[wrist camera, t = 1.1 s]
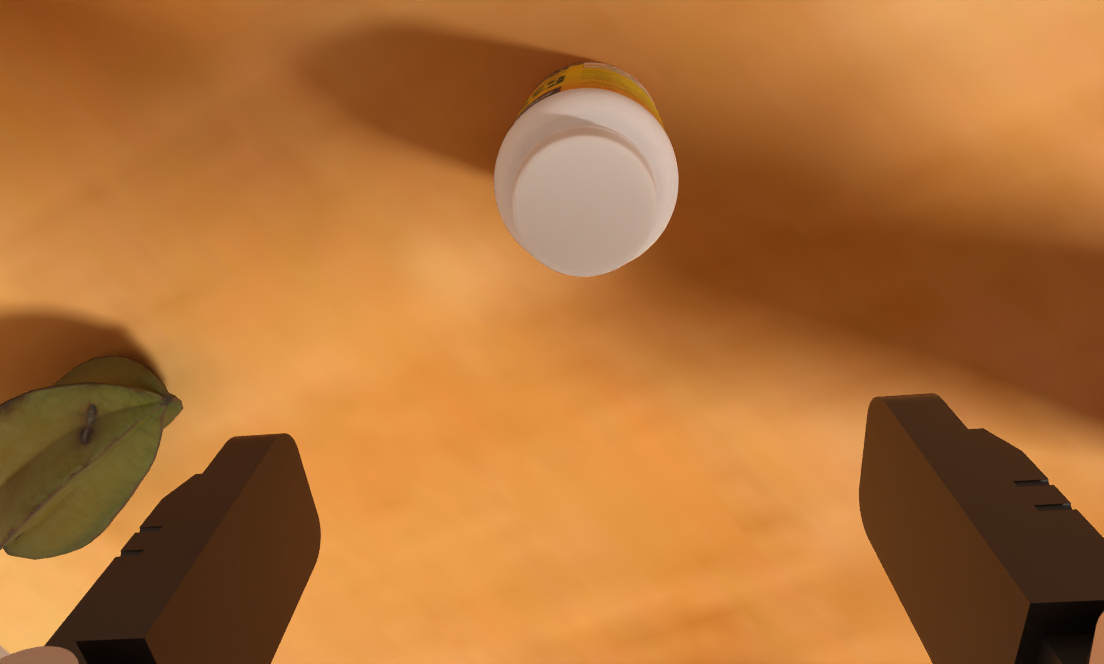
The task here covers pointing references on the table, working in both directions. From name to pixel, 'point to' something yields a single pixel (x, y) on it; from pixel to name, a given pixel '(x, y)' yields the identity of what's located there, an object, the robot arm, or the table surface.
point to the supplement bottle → (586, 171)
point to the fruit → (77, 454)
